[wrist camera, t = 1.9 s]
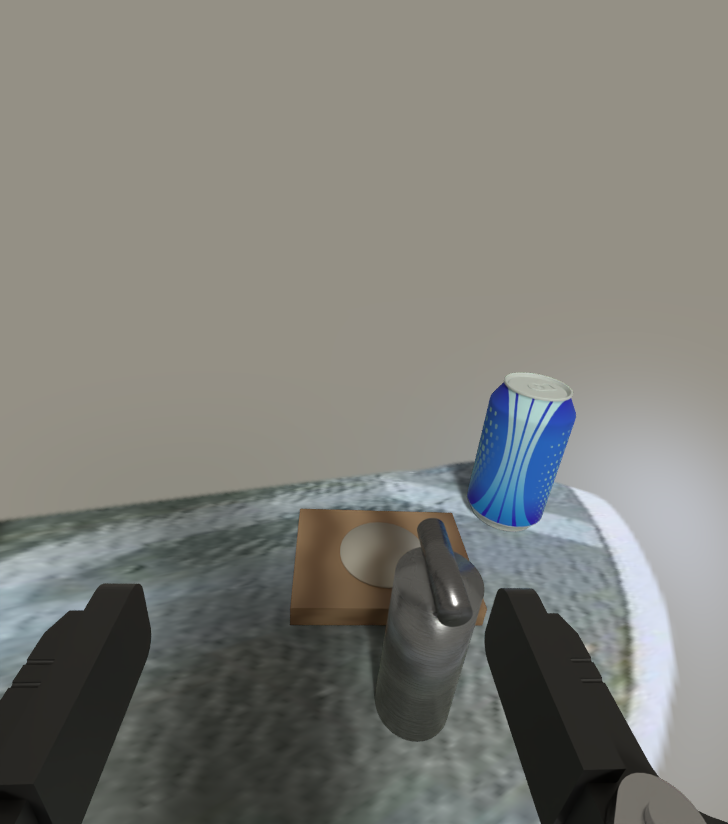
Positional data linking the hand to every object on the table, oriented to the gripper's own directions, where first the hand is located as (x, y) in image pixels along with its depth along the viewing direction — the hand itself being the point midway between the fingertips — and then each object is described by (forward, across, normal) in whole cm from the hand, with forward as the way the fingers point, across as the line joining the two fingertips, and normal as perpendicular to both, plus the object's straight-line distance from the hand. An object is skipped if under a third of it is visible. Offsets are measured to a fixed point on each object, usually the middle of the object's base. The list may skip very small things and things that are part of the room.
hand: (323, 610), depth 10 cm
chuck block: (+24, -6, +23) cm, 33 cm away
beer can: (+32, -21, +23) cm, 45 cm away
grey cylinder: (+12, -7, +23) cm, 27 cm away
